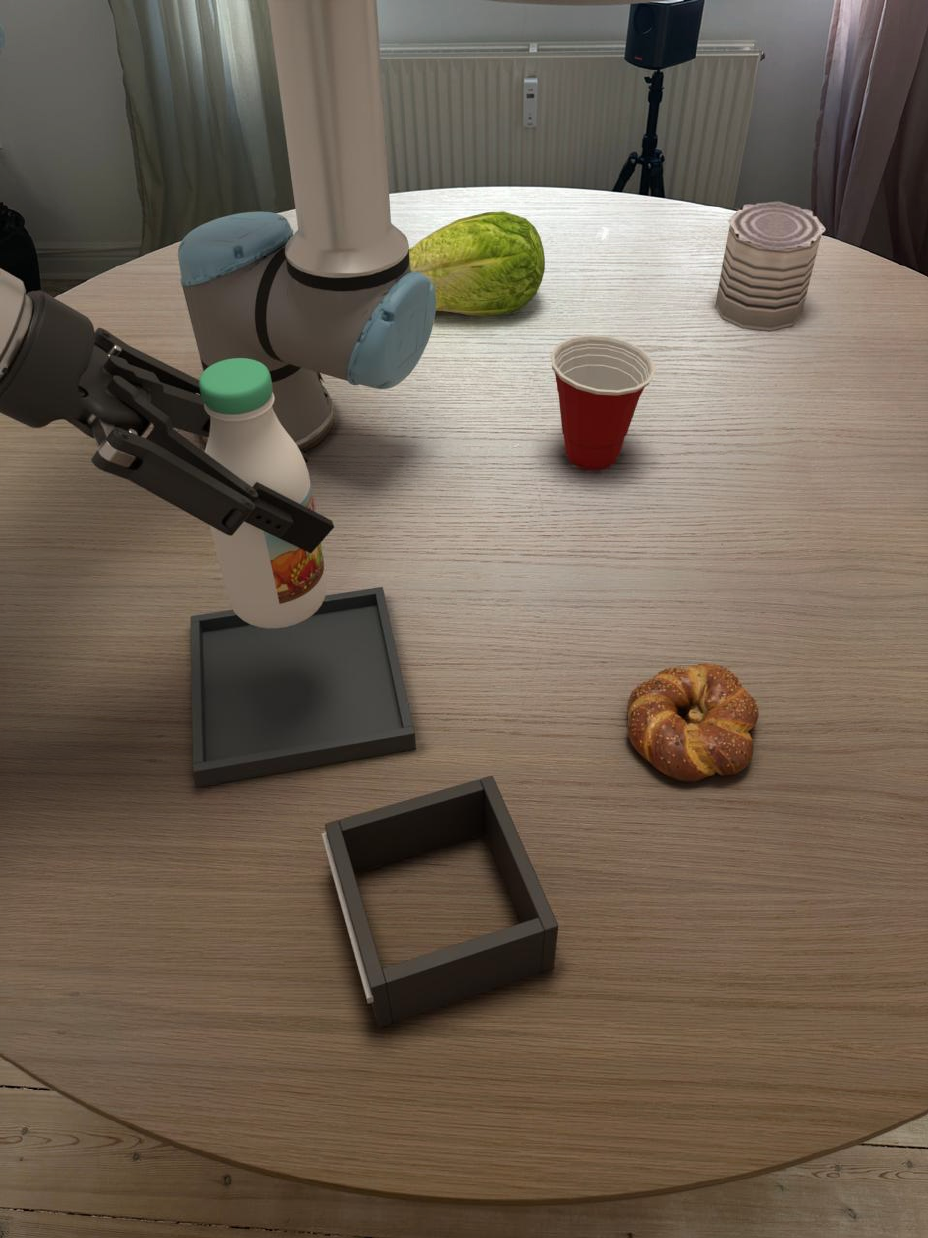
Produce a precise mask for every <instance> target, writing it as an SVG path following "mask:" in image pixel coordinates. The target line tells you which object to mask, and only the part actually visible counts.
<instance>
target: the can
mask: <svg viewBox="0 0 928 1238" xmlns="http://www.w3.org/2000/svg"><path fill="white" fill-rule="evenodd" d="M727 223H728V224H729V226H728V232H727V238H726V244H725V249H724V253H723V259H722V265H721V270H720V275H719V281H718V286H717V287H718V288H717V293H716V298H715V303H714V306H715V307H716V310H717V312H718V314H719V317H720V318H721V319H722V320H724V321H726V322H728V323H731V324H733V325H735V326H736V327H739V328H741V329H747V330H755V331H764V332H773V331H776V330H777V331H778V330H782V329H785V328H790V327H793V326H794V325H795V324H796V322H797V321H798V320H799V319H800V317H801V316H802V315H803V310H804V306H805V302H806V298H807V294H808V290H809V286H810V281H811V278H812V274H813V271H814V266H815V262H816V258H817V255H818V250H819V246H820V241H821V238H822V234H823V233H825V231H827V229H826V227H825V226H824V225H823V223H822V222H821V220H819V218H818V216H817V215H816V214H815V213H814V211H813V210H810V209H807V208H803V207H800V206H796V205H792V204H790V203H786V202H783V201H779V200H777V201H769V202H761V203H760V202H759V203H753V204H752V203H751V204H743V205H742V206H741V207H740V208H739V209H738V210H737V211H735V213H734V214H732V215H731V217H729V218H728V219H727Z"/></svg>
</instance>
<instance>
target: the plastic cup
mask: <svg viewBox="0 0 928 1238" xmlns="http://www.w3.org/2000/svg"><path fill="white" fill-rule="evenodd" d="M550 360H551V362H550V363H551V369H552V370H553V373H554V376H555V382H556V391H557V394H558V402H559V403H558V404H559V415H560V422H561V423H560V424H561V433H562V435H563V443H564V453H565V455H566V459H567V460H568V462H569V463H570V464H571V465H573V466H575V467H576V468H578V469H583V470H587V471H601V470H605V469H608V468H610V467H611V466H614V465H615V464H616V462H617V460H618V458H619V456H620V454H621V451H622V447H623V445H624V442H625V439H626V437H627V435H628V432H629V429H630V427H631V424H632V421H633V417H634V414H635V411H636V408H637V405H638V403H639V400H640V397H641V396H642V393H643V391H644V390H645V388H646V387H647V386H649V385H650V383H651V382H652V380H653V378H654V376H655V374H656V372H657V369H656V366H655V361H654V359H653V358H652V357H651V356H650V355H649V354H648V352H646V350H644V349H643V348H641V347H640V346H637V345H635V344H634V343H632V342H630V341H628V340H625V339H621V338H617V337H614V336H610V335H597V334H584V335H578V336H573V337H569V338H567V339H565V340H563V341H561V342H559V343H557V344H556V345H555V347H554V348H553V350H552V351H551V353H550Z"/></svg>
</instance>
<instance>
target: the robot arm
mask: <svg viewBox="0 0 928 1238" xmlns="http://www.w3.org/2000/svg"><path fill="white" fill-rule="evenodd" d="M267 7H268V14H269V21H270V31H271V36H272V44H273V52H274V60H275V66H276V74H277V81H278V82H277V83H278V88H279V96H280V103H281V111H282V118H283V119H282V120H283V126H284V134H285V140H286V148H287V156H288V157H287V158H288V164H289V170H290V171H289V172H290V177H291V186H292V193H293V194H292V195H293V200H294V201H293V202H294V208H295V216H296V223H297V224H296V225H297V230H296V231H295V232H294V229H293V228H292V227H291V224H290V222H289V221H288V219H287V218H286V217H285V216H283V215H282V214H279V213H276V212H271V211H247V212H240V213H234V214H229V215H226V216H221V217H218V218H215V219H213V220H210V221H207V222H205V223H203V224H201V225H199V226H197V227H196V228H194V229H192V230H191V231H189V232H188V233H187V234H186V235H185V236H184V237H183V239H182V240H181V241H180V243H179V245H178V249H177V260H178V265H179V272H180V280H179V281H180V284H181V287H182V290H183V295H184V298H185V299H184V300H185V303H186V308H187V311H188V315H189V318H190V323H191V328H192V330H193V331H192V332H193V335H194V339H195V343H196V347H197V351H198V354H199V358H200V364H201V368H202V372H203V371H204V370H205V369H207V368H208V367H209V366H211V365H213V364H215V363H217V362H220V361H223V360H227V359H233V358H246V359H252V360H256V361H258V362H260V363H262V364H264V365H265V366H266V367H267V369H268V371H269V373H270V376H271V380H272V387H273V391H272V392H273V394H274V403H273V405H272V407H273V410H274V412H275V415H276V416H277V418H278V420H279V422H280V424H281V425H282V426H283V428H284V429H285V430H286V432H287V433H288V434H289V436H290V437H291V438H292V439H293V441H294V442H295V443H296V445H297V447H298V448H299V450H300V452H301V454H302V456H303V458H304V461H305V463H306V464H307V463H308V462H309V457H308V454H306V453H305V452H306V451H309V450H310V449H312V448H313V447H315V446H317V445H318V444H319V443H320V442H321V441H323V440H324V439H325V438H326V436H328V434H329V433H330V431H331V429H332V428H333V425H334V419H335V417H334V410H333V409H334V408H333V402H332V398H331V396H330V393H329V392H328V390H327V389H326V387H325V386H324V385H323V383H325V380H324V379H323V376H322V375H325V376H328V377H332V378H336V379H338V380H342V381H346V382H348V383H349V384H350V385H351V386H364V387H368V388H372V389H376V390H387V389H391V388H394V387H397V386H398V385H399V384H401V383H402V382H403V381H404V380H406V379H407V378H408V377H409V375H410V374H411V373H412V372H413V371H414V369H415V368H416V367H417V365H418V363H419V361H420V360H421V358H422V356H423V354H424V352H425V349H426V348H427V346H428V343H429V340H430V337H431V335H432V331H433V328H434V324H435V317H436V313H437V311H436V292H435V288H434V285H433V283H432V282H431V281H430V279H429V278H428V277H427V276H425V275H423V274H422V272H421V273H420V272H419V271H416V270H415V271H411V269H410V259H409V249H410V244H409V240H408V237H407V236H406V234H405V233H404V232H402V230H400V229H399V228H398V227H396V225H394V224H393V223H392V216H391V201H390V200H391V197H390V185H389V170H388V168H389V167H388V156H387V155H388V153H387V140H386V126H385V125H386V124H385V123H386V122H385V109H384V97H383V96H384V94H383V93H384V92H383V79H382V78H383V77H382V66H381V65H382V63H381V62H382V61H381V49H380V34H379V33H380V32H379V18H378V3H377V0H267ZM4 47H5V32H4V27H3V25H2V22H1V21H0V55H2V52H3V49H4ZM26 289H27V288H26V287H25V283H24V281H23V280H22V279H20V278H18V277H16V276H15V275H13V274H11V273H10V272H9V271H6V270H4V269H2V268H1V267H0V414H2V415H3V416H6V417H8V418H10V419H12V420H15V421H16V422H19V423H21V424H23V425H25V426H28V427H29V428H33V429H41V428H44V427H46V426H48V425H50V424H51V423H53V422H56V421H59V420H60V421H61V420H65V421H67V423H69V424H70V425H72V426H74V427H75V428H76V429H78V430H79V431H80V432H81V433H83V434H84V435H86V436H87V437H89V438H92V439H94V440H95V442H96V445H97V447H98V449H97V450H96V451H95V453H94V455H92V457H91V459H90V460H91V463H92V465H94V466H95V468H97V469H98V470H99V471H102V472H105V473H107V474H111V475H113V476H115V477H116V476H117V477H119V478H122V479H125V480H128V481H129V482H132V483H133V484H135V485H137V486H139V487H141V488H142V489H144V490H145V491H148V492H149V493H151V494H153V495H155V496H156V497H158V498H160V499H162V500H164V501H165V502H167V503H169V504H170V505H173V506H174V507H176V508H177V509H180V510H182V511H184V513H186V514H189V515H190V516H192V517H194V518H196V519H197V520H200V521H202V522H203V523H205V524H207V525H209V527H210V526H212V527H214V528H216V529H217V530H219V531H221V532H223V533H225V534H227V535H229V536H232V535H233V534H234V533H235V532H236V531H237V529H238V528H239V527H240V526H241V525H242V523H243V522H246V523H248V524H250V525H252V526H255V527H257V528H259V529H261V530H263V531H265V532H267V533H269V534H271V535H273V536H275V537H278V538H280V539H282V540H284V541H286V542H288V543H290V544H292V545H294V546H296V547H298V548H300V549H303V550H305V551H307V552H309V553H312V552H313V551H314V550H315V549H316V547H317V546H318V545H319V544H320V543H321V544H322V542H323V541H324V540H325V539H326V537H327V536H328V535H329V534H330V533H331V532H332V531H333V529H334V528H335V525H334V522H333V520H332V519H330V518H328V517H326V516H324V515H322V514H320V513H318V512H317V511H316V512H314V511H312V510H311V509H309V508H307V507H305V506H303V505H301V504H299V503H297V502H295V501H293V500H291V499H289V498H287V497H285V496H283V495H281V494H280V493H278V492H276V491H274V490H272V489H270V488H268V487H266V486H264V485H262V484H260V483H258V482H256V483H255V484H254V486H253V487H251V486H250V485H249V484H247V483H246V482H244V481H243V480H242V479H240V478H239V477H238V476H236V475H235V474H234V473H232V472H231V471H229V470H228V469H227V468H225V467H224V466H223V465H221V464H220V463H219V462H217V461H216V460H215V459H213V458H212V457H210V456H209V455H208V454H206V453H205V450H202V449H201V448H199V446H197V445H196V444H194V443H193V442H191V441H190V439H189V440H188V439H187V438H186V437H185V436H184V435H182V434H181V433H179V432H178V431H177V430H181V431H184V432H187V433H190V434H191V433H192V434H195V435H199V436H201V437H202V438H201V439H202V441H203V442H204V444H205V445H206V446H207V442H208V438H209V433H210V422H211V420H210V415H209V414H208V413H207V412H206V411H205V408H204V401H203V399H202V396H201V392H200V386H199V380H200V379H199V378H196V377H194V376H192V375H190V374H188V373H186V372H183V371H181V370H180V369H177V368H175V367H173V366H172V365H169V364H168V363H165V362H163V361H161V360H159V359H157V358H155V357H153V356H151V355H149V354H147V353H146V352H143V351H141V350H139V349H137V348H135V347H133V346H131V345H129V344H128V343H126V342H125V341H123V340H121V339H120V338H119V337H117V336H115V335H114V334H113V333H111V332H109V330H106V329H105V328H102V327H97V328H96V330H95V327H94V324H93V322H92V321H91V319H90V318H89V317H88V316H86V315H85V314H83V313H81V312H80V311H78V310H76V309H74V308H72V307H71V306H70V305H68V304H66V303H64V302H62V301H60V300H59V299H57V298H55V297H54V296H52V295H50V294H48V293H47V292H45V291H43V290H41V289H40V290H36V291H35V290H32V291H31V290H30V291H28V292H27V290H26ZM321 374H322V375H321ZM151 425H152V426H153V427H152V430H151V431H149V434H147V436H146V437H143V436H144V434H145V433H146V432H147V431H148V429H149V428H150V426H151ZM176 429H177V430H176Z"/></svg>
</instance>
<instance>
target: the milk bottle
mask: <svg viewBox="0 0 928 1238" xmlns="http://www.w3.org/2000/svg"><path fill="white" fill-rule="evenodd" d="M198 380H199V386H200V392H201V396H202V399H203V401H204V408H205V411H206V412H207V413H208V414H209V415H210V420H211V422H210V433H209V438H208V442H207V445H206V446H205V449H204V452H205V453H206V454H208V455H209V456H210V457H212V458H213V459H215V460H216V461H217V462H219V463H220V464H221V465H223V466H224V467H225V468H227V469H228V470H229V471H231V472H232V473H234V474H235V475H236V476H238V477H239V478H240V479H242V480H243V481H244V482H246V483H247V484H249V485H250V486H251V487H253V486H254V484H255V483H256V482H258V483H260V484H262V485H264V486H266V487H268V488H270V489H272V490H274V491H276V492H278V493H280V494H281V495H283V496H285V497H287V498H289V499H291V500H293V501H295V502H297V503H299V504H301V505H303V506H305V507H307V508H309V509H311V510H312V511H314V512H316V513H317V510H316V505H315V499H314V492H313V488H312V487H313V486H312V483H311V478H310V474H309V469H308V467H307V463H305V461H304V458H303V456H302V454H301V452H300V450H299V448H298V447H297V445H296V443H295V442H294V441H293V439H292V438H291V437H290V436H289V434H288V433H287V432H286V430H285V429H284V428H283V426H282V425H281V424H280V422H279V420H278V418H277V416H276V415H275V412H274V410H273V407H272V405H273V403H274V394H273V392H272V391H273V387H272V380H271V376H270V373H269V371H268V369H267V367H266V366H265V365H264V364H262V363H260V362H258V361H256V360H252V359H246V358H233V359H227V360H223V361H220V362H217V363H215V364H213V365H211V366H209V367H208V368H207V369H205V370H204V371H203V370H202V373H201V374H200V376H199V379H198ZM209 528H210V533H211V536H212V541H213V545H214V548H215V549H214V550H215V553H216V556H217V557H216V558H217V560H218V561H217V562H218V564H219V570H220V572H221V576H222V581H223V584H224V588H225V592H226V595H227V599H228V602H229V605H230V608H231V610H233V611H234V612H235V613H236V614H237V615H238V616H239V617H240V618H241V619H242V620H243V621H245V622H247V623H249V624H250V625H254V626H257V627H262V628H283V627H288V626H292V625H295V624H298V623H300V622H302V621H304V620H306V619H307V618H309V617H311V616H312V615H313V614H314V613H315V612H316V611H317V610H318V609H319V607H320V606H321V605H322V603H323V601H324V599H325V596H326V595H327V592H328V583H327V582H328V581H327V574H326V568H325V560H324V554H323V547H322V542H321V543H320V544H319V545H318V546H317V547H316V549H315V550H314V551H313V552H312V553H309V552H307V551H305V550H303V549H300V548H298V547H296V546H294V545H292V544H290V543H288V542H286V541H284V540H282V539H280V538H278V537H275V536H273V535H271V534H269V533H267V532H265V531H263V530H261V529H259V528H257V527H255V526H252V525H250V524H248V523H246V522H243V523H242V525H241V526H240V527H239V528H238V529H237V531H236V532H235V533H234V534H233V535H232V536H229V535H227V534H225V533H223V532H221V531H219V530H217V529H216V528H214V527H212V526H210V525H209Z"/></svg>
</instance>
